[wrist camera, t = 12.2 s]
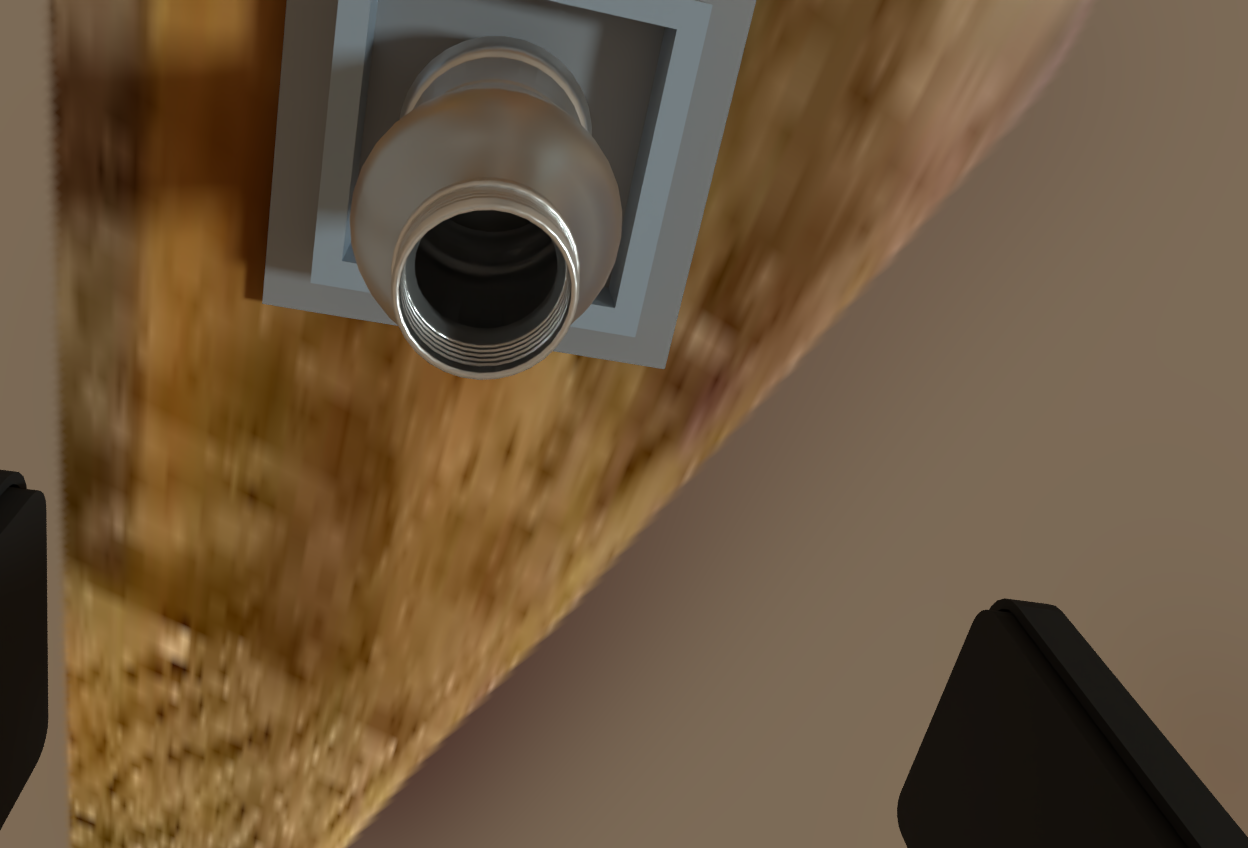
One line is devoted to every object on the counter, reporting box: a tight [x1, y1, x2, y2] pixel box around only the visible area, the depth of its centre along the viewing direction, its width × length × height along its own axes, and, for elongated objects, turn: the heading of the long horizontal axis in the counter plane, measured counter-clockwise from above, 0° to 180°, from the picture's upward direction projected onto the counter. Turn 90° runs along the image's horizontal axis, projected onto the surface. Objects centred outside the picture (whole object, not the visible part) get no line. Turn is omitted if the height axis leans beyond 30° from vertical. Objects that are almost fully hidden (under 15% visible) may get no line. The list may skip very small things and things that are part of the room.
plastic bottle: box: [350, 36, 622, 380], centre depth 29 cm, size 6×7×20 cm
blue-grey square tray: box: [262, 0, 756, 369], centre depth 38 cm, size 16×16×3 cm
